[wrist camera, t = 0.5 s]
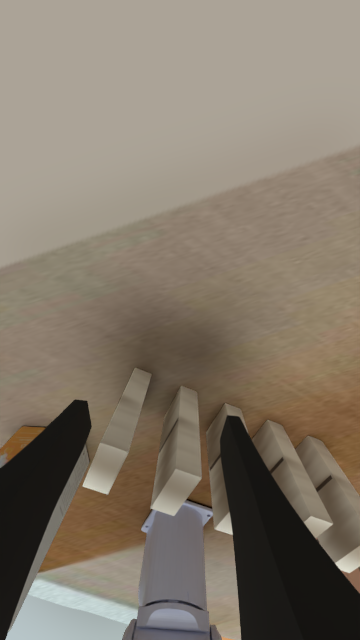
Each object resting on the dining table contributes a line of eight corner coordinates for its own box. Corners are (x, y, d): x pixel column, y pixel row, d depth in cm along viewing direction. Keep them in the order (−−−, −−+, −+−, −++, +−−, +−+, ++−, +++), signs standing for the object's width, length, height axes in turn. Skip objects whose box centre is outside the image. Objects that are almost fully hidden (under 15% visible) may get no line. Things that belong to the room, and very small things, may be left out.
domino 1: (137, 406, 24) (107, 494, 15) (120, 400, 24) (82, 486, 15) (152, 374, 22) (128, 452, 14) (134, 367, 22) (100, 442, 13)
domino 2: (179, 422, 24) (174, 516, 16) (164, 416, 24) (150, 508, 16) (197, 391, 23) (202, 478, 14) (180, 385, 22) (175, 468, 14)
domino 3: (220, 437, 25) (236, 536, 16) (205, 432, 25) (214, 528, 16) (240, 409, 23) (270, 501, 15) (225, 402, 23) (245, 493, 15)
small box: (83, 426, 25) (-18, 594, 13) (90, 462, 27) (10, 635, 15) (20, 424, 26) (-135, 586, 13) (33, 459, 28) (-91, 627, 16)
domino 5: (297, 466, 26) (349, 573, 17) (283, 461, 26) (329, 566, 17) (322, 441, 24) (392, 544, 16) (307, 435, 24) (371, 537, 16)
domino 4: (259, 452, 25) (295, 555, 17) (245, 447, 25) (273, 548, 17) (282, 425, 24) (333, 523, 15) (267, 419, 24) (310, 515, 15)
